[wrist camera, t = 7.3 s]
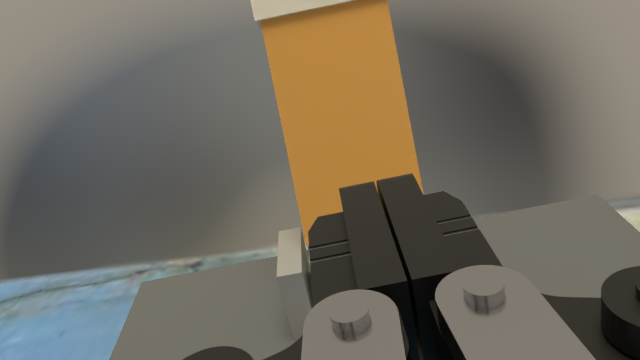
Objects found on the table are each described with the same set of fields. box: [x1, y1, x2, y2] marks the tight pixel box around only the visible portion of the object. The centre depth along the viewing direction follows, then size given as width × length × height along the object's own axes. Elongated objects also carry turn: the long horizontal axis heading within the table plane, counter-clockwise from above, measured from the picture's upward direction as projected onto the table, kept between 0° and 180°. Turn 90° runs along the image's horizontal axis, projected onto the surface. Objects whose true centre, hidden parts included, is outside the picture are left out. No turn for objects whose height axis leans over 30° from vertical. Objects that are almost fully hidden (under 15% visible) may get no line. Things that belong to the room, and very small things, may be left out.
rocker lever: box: [251, 0, 424, 261], centre depth 24 cm, size 5×3×13 cm, turn 93°
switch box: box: [109, 195, 640, 360], centre depth 25 cm, size 24×10×8 cm, turn 93°
